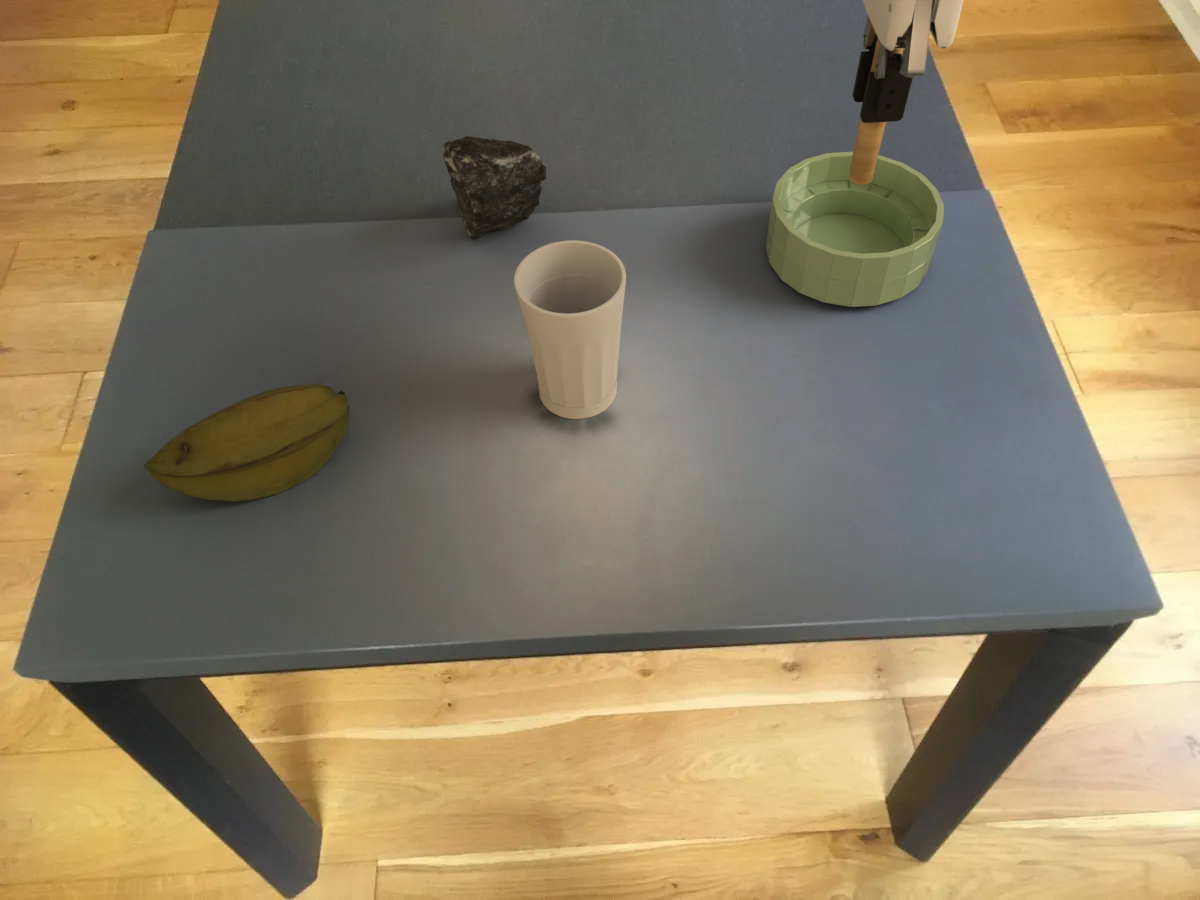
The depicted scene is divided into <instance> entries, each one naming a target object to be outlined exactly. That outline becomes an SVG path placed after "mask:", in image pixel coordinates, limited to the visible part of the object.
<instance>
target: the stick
mask: <svg viewBox="0 0 1200 900" xmlns="http://www.w3.org/2000/svg"><path fill="white" fill-rule="evenodd" d="M879 45H880V41H879V39H878V40H877V43H876V48H875V52H874V57H873V62H872V66H871V71H870V72H874V69H875V64H876V59H877V54H878V50H879ZM903 50H905V48H894V50H893V51H891V53H890V56H892V55H893V54H897V53H903ZM886 125H887V122H874V123H863V122H862V120H861V118H860V119H859V123H858V127H857V132H856V138H855V142H854V147H853V151H852V152H853V156H852V160H851V165H850V170H849V174H848V177H849V180H850V181H851V182H853V183H855V184H858V185H865V184H868V183H870V182H871V181H872V179H873V175H874V171H875V167H876V163H877V158H878V155H880V154H879V153H880V149H881V146H882V145H881V144H882V142H883V137H884V134H885V133H884V132H885V130H886Z"/></svg>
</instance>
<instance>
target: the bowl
mask: <svg viewBox="0 0 1200 900" xmlns="http://www.w3.org/2000/svg"><path fill="white" fill-rule="evenodd" d="M852 156H853V151H839V152H827V153H823V154H819V155H815V156H811V157H807V158H805V159H803V160H801V161H799V162H798V163H796V164H795V165H793V166H791V167H789V168H788V169H787V170H786V171H785V172H784V173H783V175H782V176H781V177H779V179H778V180H777V182H776V183H775V187H774V190H773V195H772V197H771V204H770V214H769V221H768V228H767V234H766V241H765V242H766V243H765V249H766V255H767V258H768V262H769V265H770V266H771V268H772V269H773V271H775V273H776V274H777V276H778V277H779V278H780V280H781V282H784V283H785V284H787V285H788V286H789V287H791V288H792V289H794V290H795V291H796V292H798V293H799V294H801V295H804V296H806V297H809V298H812V299H814V300H816V301H819V302H821V303H825V304H829V305H830V304H831V305H837V306H843V307H849V308H850V307H851V308H853V307H854V308H856V307H857V308H858V307H876V306H879V305H882V304H886V303H889V302H893V301H897V300H900V299H901V298H903V297H905V296H907V294H909V293H911V292H912V291H913V290H915V289H916V288H918V286H919V285H920V283H921V282H922V281H923V279H924V277H925V276H926V275H927V273H928V271H929V269H930V265H931V262H932V258H933V256H934V252H935V249H936V246H937V242H938V240H939V236H940V233H941V230H942V226H943V224H944V214H945V205H944V202H943V200H942V198H941V195H940V193H939V191H938V189H937V187H936V186H935V185H933V183H932V182H931V181H930V180H929V179H928V178H927V177H926V176H925V175H924V174H923V173H921V172H919V171H917V170H916V169H914V168H912V167H911V166H910V165H907V164H906V163H905V162H902V161H899V160H895V159H893V158H889V157H887V156H883V155H881V154H878V158H877V163H876V167H875V171H874V175H873V179H872V181H871V182H870V183H868V184H865V185H858V184H855V183H853V182H851V181H850V180H849V177H848V174H849V170H850V165H851V160H852Z"/></svg>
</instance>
